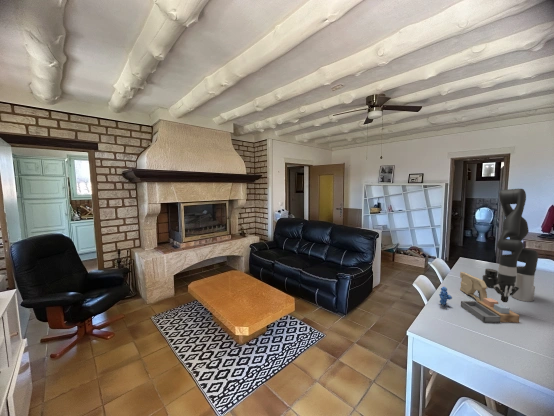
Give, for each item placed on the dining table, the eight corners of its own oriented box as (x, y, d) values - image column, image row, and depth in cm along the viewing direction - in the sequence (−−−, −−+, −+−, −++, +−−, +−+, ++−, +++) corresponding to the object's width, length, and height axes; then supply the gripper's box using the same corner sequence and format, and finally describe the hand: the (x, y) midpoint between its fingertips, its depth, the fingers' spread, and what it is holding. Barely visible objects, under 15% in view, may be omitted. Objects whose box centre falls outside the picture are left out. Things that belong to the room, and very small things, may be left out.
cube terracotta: (491, 303, 137) (491, 298, 137) (497, 306, 133) (498, 301, 133) (483, 302, 138) (483, 298, 137) (489, 306, 133) (490, 301, 133)
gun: (488, 307, 140) (488, 282, 140) (482, 306, 141) (482, 282, 141) (464, 292, 164) (464, 271, 164) (459, 292, 165) (459, 271, 164)
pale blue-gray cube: (501, 309, 131) (502, 304, 130) (509, 313, 126) (509, 308, 126) (493, 309, 131) (493, 303, 131) (500, 313, 126) (501, 308, 126)
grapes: (450, 311, 136) (452, 291, 135) (437, 307, 140) (438, 288, 139) (452, 303, 145) (453, 285, 144) (439, 300, 149) (440, 282, 148)
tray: (474, 306, 141) (475, 301, 141) (500, 323, 124) (500, 316, 124) (460, 306, 142) (461, 300, 141) (483, 322, 125) (484, 316, 124)
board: (494, 308, 139) (495, 301, 139) (519, 322, 124) (519, 315, 124) (477, 307, 140) (477, 301, 140) (499, 322, 125) (500, 315, 125)
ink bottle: (492, 283, 174) (493, 268, 173) (502, 288, 165) (504, 272, 164) (478, 283, 175) (479, 267, 174) (487, 288, 166) (489, 272, 165)
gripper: (513, 271, 137) (510, 299, 138) (489, 270, 137) (486, 298, 139) (525, 276, 129) (522, 305, 131) (500, 275, 130) (497, 304, 132)
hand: (504, 301), depth 135 cm, fingers closed
